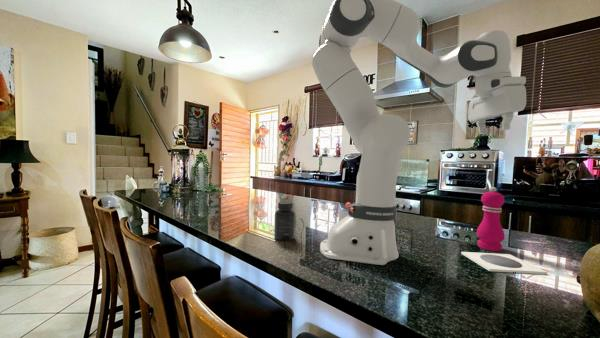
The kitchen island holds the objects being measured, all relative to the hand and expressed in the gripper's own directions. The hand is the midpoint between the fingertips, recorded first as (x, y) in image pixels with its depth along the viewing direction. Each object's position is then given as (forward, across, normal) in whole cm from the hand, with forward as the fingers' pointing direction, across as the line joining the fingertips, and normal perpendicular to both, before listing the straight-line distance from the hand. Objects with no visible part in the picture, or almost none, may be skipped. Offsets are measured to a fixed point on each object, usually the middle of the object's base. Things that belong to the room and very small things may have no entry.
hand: (493, 131), depth 78 cm
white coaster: (+37, +10, -6) cm, 39 cm away
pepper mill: (+38, -3, 0) cm, 38 cm away
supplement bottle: (+33, -1, -67) cm, 74 cm away
